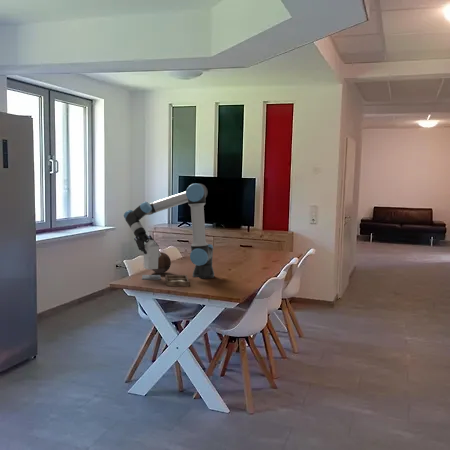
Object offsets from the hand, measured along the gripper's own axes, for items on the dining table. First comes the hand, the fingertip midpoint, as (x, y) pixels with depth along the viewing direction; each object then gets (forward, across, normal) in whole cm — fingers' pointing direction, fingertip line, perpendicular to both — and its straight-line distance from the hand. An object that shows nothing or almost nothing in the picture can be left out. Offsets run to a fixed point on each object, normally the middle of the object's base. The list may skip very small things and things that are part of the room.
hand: (154, 256), depth 311 cm
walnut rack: (+25, -1, +3) cm, 25 cm away
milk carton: (+4, 0, -8) cm, 9 cm away
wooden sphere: (+1, -21, -22) cm, 30 cm away
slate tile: (+9, 0, -13) cm, 16 cm away
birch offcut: (+26, +2, +6) cm, 27 cm away
